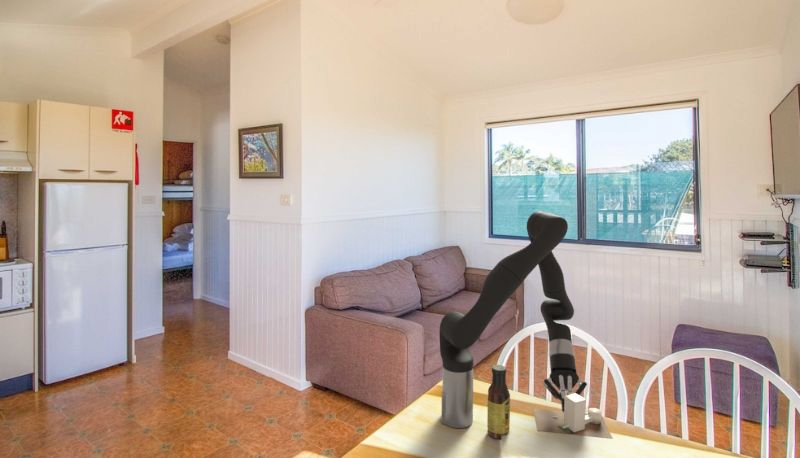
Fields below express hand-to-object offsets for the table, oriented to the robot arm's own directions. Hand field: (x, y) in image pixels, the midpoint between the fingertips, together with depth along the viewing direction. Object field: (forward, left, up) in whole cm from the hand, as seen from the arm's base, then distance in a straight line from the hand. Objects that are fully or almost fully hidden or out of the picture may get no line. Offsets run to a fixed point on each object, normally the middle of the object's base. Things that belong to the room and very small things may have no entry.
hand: (567, 413), depth 127 cm
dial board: (+1, 0, -4) cm, 4 cm away
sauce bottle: (-20, -7, -5) cm, 22 cm away
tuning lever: (+4, -1, -3) cm, 5 cm away
